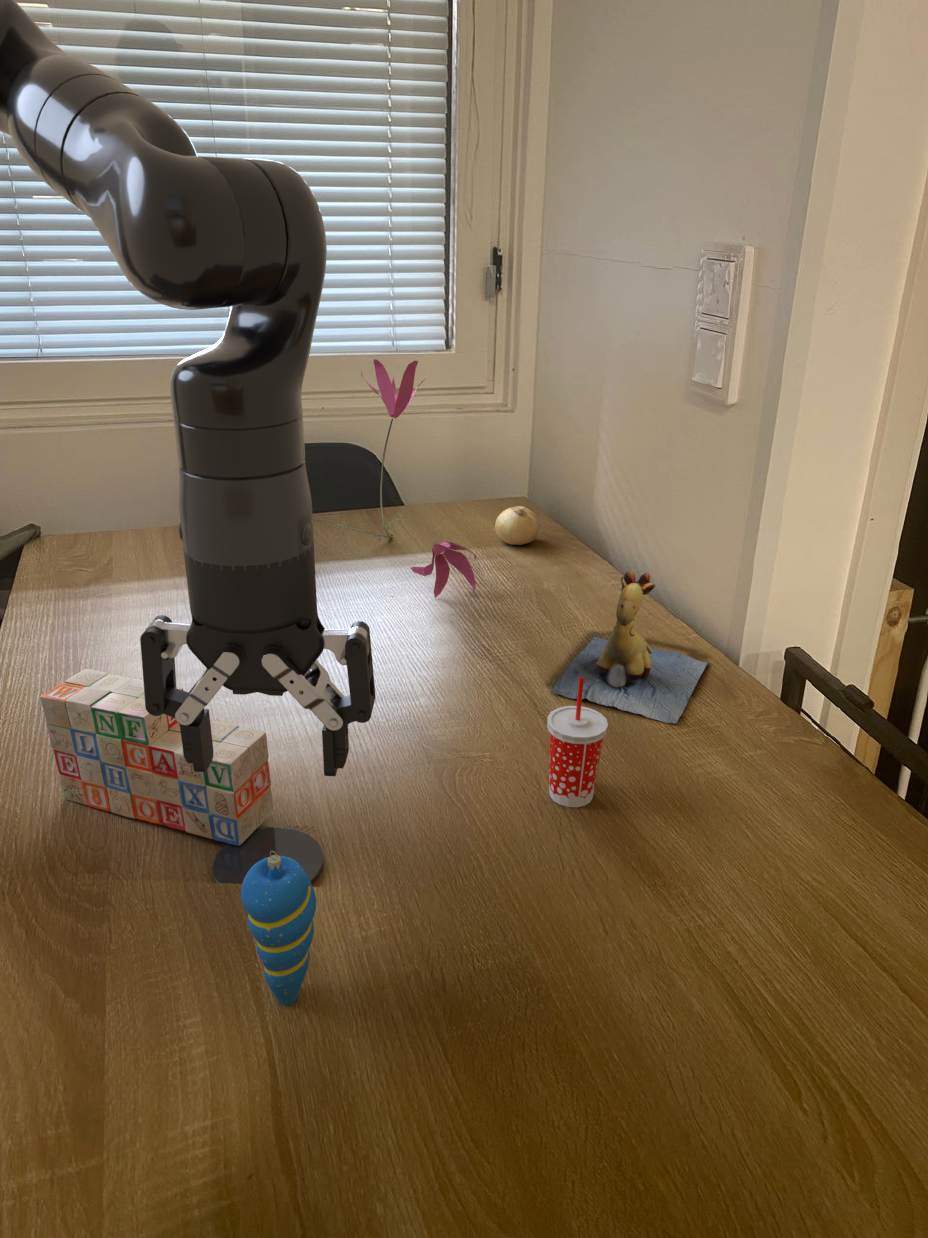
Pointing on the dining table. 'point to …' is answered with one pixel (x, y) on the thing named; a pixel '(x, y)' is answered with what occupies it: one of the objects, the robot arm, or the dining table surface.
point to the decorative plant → (395, 408)
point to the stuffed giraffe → (632, 666)
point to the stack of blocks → (153, 761)
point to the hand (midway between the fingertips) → (267, 767)
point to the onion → (517, 526)
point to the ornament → (280, 921)
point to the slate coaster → (268, 853)
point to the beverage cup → (574, 752)
